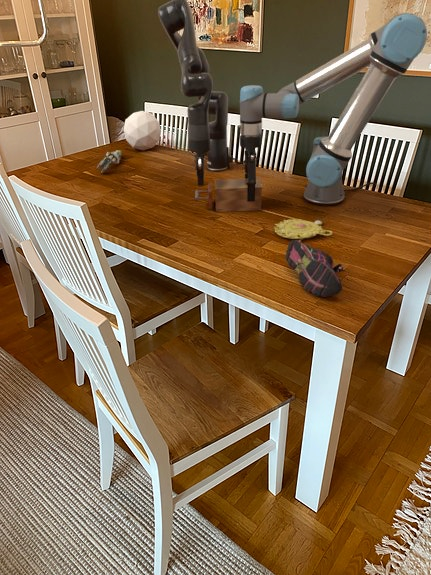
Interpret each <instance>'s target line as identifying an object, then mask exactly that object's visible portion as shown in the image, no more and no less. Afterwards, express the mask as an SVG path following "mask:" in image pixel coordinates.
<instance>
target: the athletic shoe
mask: <svg viewBox="0 0 431 575" xmlns="http://www.w3.org/2000/svg"><path fill="white" fill-rule="evenodd" d="M299 241H300V240H298V239H291V241H290V242H289V243H288V245H287V250H286V252H285V260H286V262H287V264H288V266H289V267H290V268H291V269H292V270H295V271H296V272H297V274H298V280H299V283H300V284H301V286H303V287H304V288H303V289H304V290H305V291H306V292H307V293H310V294H311V295H313V296H318V297H321V298H323V297H324V298H325V297H326V298H327V297H331V296H335V295H339V293H341V292H342V291H343V284H342V281H341V279H340V277H339V276H338V274H337V273H342V272H346V270H345V269H344V267H343V264H341V263H338V264H337V265H335V266H334V260H333V258H332V256H331V255H329V254H328V253H326V252H325V251H323V250H321V249H319V248H315V247H312V246H310V245H308V244H304V243H302V241H300V242H299Z"/></svg>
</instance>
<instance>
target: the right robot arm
mask: <svg viewBox="0 0 431 575" xmlns="http://www.w3.org/2000/svg"><path fill="white" fill-rule="evenodd" d="M427 39H428V29H427V26H426V23H425V22H424V19H423V18H421V17H420V16H418V15H417V14H414V13H410V12H404V13H399V14H397V15H395V16H393V17H392V18H390V19H389V20H388V21H387V22H386V23H384V25H382V26H380V27H379V28H378V29H376V30H374V31H372V32H371V33H369V35H368V37H367V39H366V40H363V41H362V42H361V43H358V44H357V45H356V46H355V45H354V46H353V47H352V48H350V49H348V50H347V51H345V52H344V53H342V54H340V55H338V56H336V57H334V58H333V59H331V60H329V61H328V62H326V63H324V64H322V65H320V66H319V67H317V68H315V69H314V70H311V71H310V72H309V73H307V74H305V75H303V76H301V77H300V78H298V79H297V80H295V81H293V82H291V83H289V84H287V85H284V86H283V87H282V88H280V89H279V90H278V92H269V93H268V92H264V88H263V87H262V85H257V84H255V85H254V84H253V85H252V84H251V85H244V86H242V87H241V88H240V93H239V124H238V125H237V128H238V129H239V134H240V136H239V146H240V147H241V148H242V149H244V152H243V154H244V160H245V163H244V178H248V183H246V185H247V202H250V201H255V184H256V178H257V170H256V169H257V159H256V157H257V151H256V149H257V148H260V147H261V146H262V134H263V129H262V128H263V118H270V119H271V118H273V119H286V120H288V119H296V118H297V117H298V115H299V114H298V113H299V110H300V105H302V104H303V103H305V102H307V101H308V100H311V99H312V98H314V97H316V96H318V95H320V94H321V93H324V92H325V91H327V90H329V89H331V88H333V87H335V86H336V85H338V84H340V83H342V82H344V81H346V80H347V79H349V78H351V77H353V76H355V75H357V74H358V73H361V72H362V71H364V70H365V72H364V74H363V76H362V78H361V80H360V82H359V83H358V85H356V86H357V87H356V89H355V90H354V92H353V93H352V95H351V97H350V99H349V101H348V102H347V103H346V105H345V107H344V109H343V110H342V112H341V114H340V116H339V118H338V119H337V121H336V122H335V124H334V126H333V128H332V130H331V131H330V133H329V135H328V136H317V137H315V138H314V139H313V142H312V151H311V152H312V153H311V156H310V157H309V160H308V162H307V164H306V167H305V173H306V177H307V180H308V182H307V184H305V188H304V192H303V199H304V201H306V202H307V203H310V204H312V205H317V206H327V207H328V206H329V207H330V206H337V205H340V204H342V203H343V202H344V201H345V192H353V191H356V190H358V189H361V188H365V187H367V186H370V185H373V186H375V187H376V186H377V183H376V182H373V181H372V182H368V183H365V184H363V185H359V186H357V187H354V188H348V189H347V188H346V189H344V185H343V173H344V170H345V168H346V167H347V165H348V164H349V162H350V160H351V159H352V157H353V153H352V149H353V147H354V146H355V144H356V143H357V140H358V139H359V138H360V136H361V134H362V133H363V131H364V129H365V128H366V126H367V125H368V123H369V122H370V120H371V118H372V116H373V115H374V114H375V112H376V111H377V108H378V107H379V106H380V104H381V102H382V101H383V99H384V97H385V96H386V94H387V93H388V91H389V90H390V88H391V87H392V85H393V83H394V82H395V80H396V79H397V78H399V77H401V76H404V75H405V73H406V72H407V71H408V69H409V68H410V66H411V64H412V63H413V62H414V60H415V59H416V58H417V57H418V56H419V55H420V54H421V53H422V51H423V49H424V48H425V46H426V43H427Z"/></svg>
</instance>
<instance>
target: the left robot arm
mask: <svg viewBox="0 0 431 575" xmlns="http://www.w3.org/2000/svg"><path fill="white" fill-rule="evenodd" d="M157 16H158V19H159V21H160V23H161V25H162V27H163V30H164V31H165V33H166V34H167V36H168V38H169V40H170V42H171V43H172V45H173V48H175V51H176V52H177V58H178V62H179V66H180V71H181V77H180V91H181V93H182V95H183V96H184V97H186V98H198V101H197V102H195V103H193V104H189V105H188V107H187V110H186V111H187V140H188V141H187V142H188V143H187V144H188V151H189V152H191V153H195V154H194V156H193V160H194V161H193V162H194V168H195V171H196V176H197V185H198V186H199V187H203V186H205V170H206V167H207V170H208V171H212V172H223V171H226V170H227V169H229V168H230V164H233V162H234V161H235V162H236V164H239V165H240V164H245V159H244V160H243V161H238V159H237V158H235V157H233V156H232V155H231V154H230V148H229V146H228V121H229V97H228V94H227V93H226V92H224V91H218V90H217V91H216V90H213V88H214V81H213V78H212V76H211V74H210V69H211V68H210V64H209V61H208V59H207V56H206V55H205V52H204V51H203V50H202V48H200V47H199V46H198V44H197V37H196V36H197V35H196V28H195V23H194V22H195V21H194V16H193V12H192V9H191V6H190V4H189V2H188V0H169V1H168V2H166V3H164V4H162V5H160V6H159V7H158V9H157ZM182 30H183V31H182ZM180 31H182V35H181V34H180V33H179V32H180ZM209 115H215V119H214V120H212V121H210V120H209ZM209 121H210V122H209ZM204 153H206V154H204ZM206 158H207V159H206ZM233 160H234V161H233ZM258 160H260V158H259V157H257V156H256V161H258ZM206 165H207V166H206Z"/></svg>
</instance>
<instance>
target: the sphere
mask: <svg viewBox="0 0 431 575" xmlns="http://www.w3.org/2000/svg"><path fill="white" fill-rule="evenodd" d="M124 120H125V121H124V126H123V134H124V139H125V140H126V142H127V143H128V144H129V145H130V146H131V147H132V148H133V149H136V150H140V151H146V150H149V149H152V148H154V147H155V146H156V145H157V144H159V142H160V139H161V133H162V129H161V124H160V122H159V120H158V119H157V118H156V117H155V115H154V114H153V113H151V112H148V111H144V110H139V111H135V112H133V113H131V114H130V115H129V116H128V117H127V118H125V119H124Z"/></svg>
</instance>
